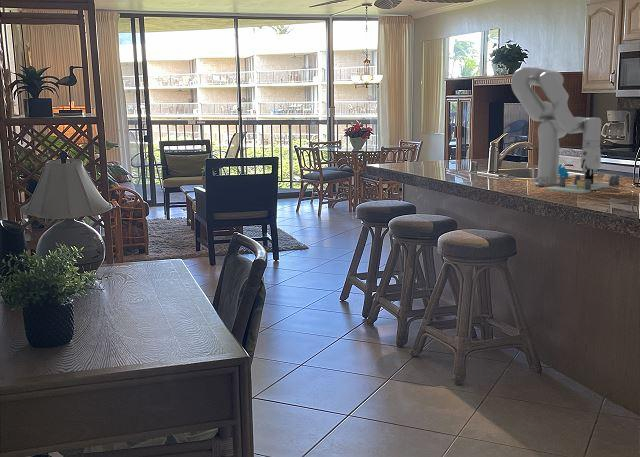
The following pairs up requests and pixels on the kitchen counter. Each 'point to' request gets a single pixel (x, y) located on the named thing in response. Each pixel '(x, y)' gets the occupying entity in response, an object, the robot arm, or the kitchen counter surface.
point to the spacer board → (588, 186)
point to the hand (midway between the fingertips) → (589, 183)
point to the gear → (562, 171)
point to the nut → (581, 183)
